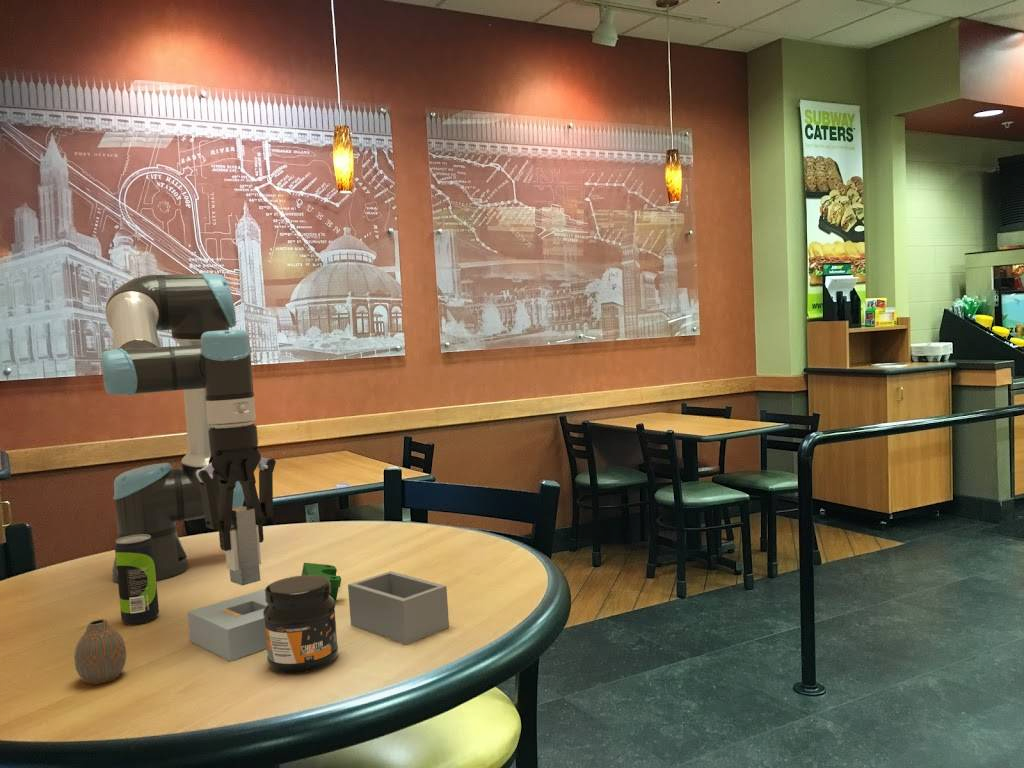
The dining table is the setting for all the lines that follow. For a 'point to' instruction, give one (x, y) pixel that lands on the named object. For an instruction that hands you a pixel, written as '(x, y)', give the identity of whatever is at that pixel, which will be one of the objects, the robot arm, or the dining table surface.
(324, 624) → the supplement container
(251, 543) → the brushed metal block
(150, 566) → the beverage can
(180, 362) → the robot arm
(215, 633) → the plate
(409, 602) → the gray hollow rectangular box
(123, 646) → the vase
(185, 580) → the dining table surface
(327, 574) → the green mounting bracket
